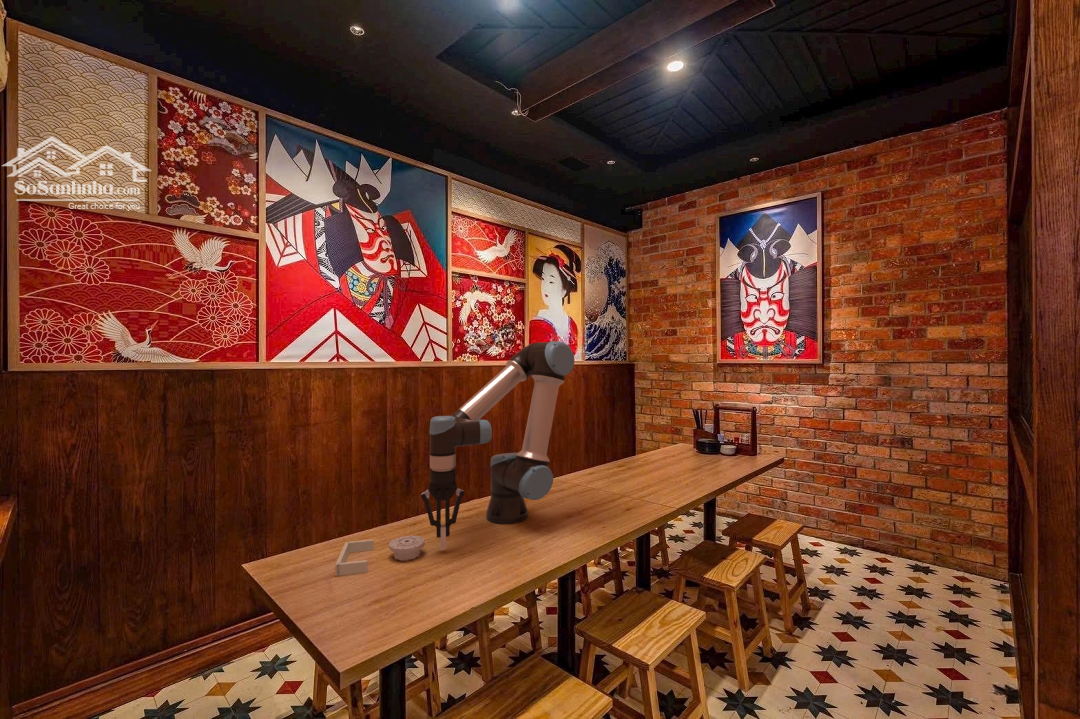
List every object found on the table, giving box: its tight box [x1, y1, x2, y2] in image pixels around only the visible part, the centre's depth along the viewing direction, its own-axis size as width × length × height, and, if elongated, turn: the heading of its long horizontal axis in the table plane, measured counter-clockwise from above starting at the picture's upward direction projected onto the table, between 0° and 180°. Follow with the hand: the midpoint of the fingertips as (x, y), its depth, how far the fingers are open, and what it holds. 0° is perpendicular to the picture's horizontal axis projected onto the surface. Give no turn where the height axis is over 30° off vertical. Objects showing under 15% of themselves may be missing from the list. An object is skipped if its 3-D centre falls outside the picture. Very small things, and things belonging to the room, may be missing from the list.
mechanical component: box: [388, 535, 425, 562], centre depth 134 cm, size 10×4×10 cm
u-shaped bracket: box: [334, 538, 375, 577], centre depth 131 cm, size 8×16×3 cm, turn 14°
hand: (443, 547), depth 136 cm, fingers closed
